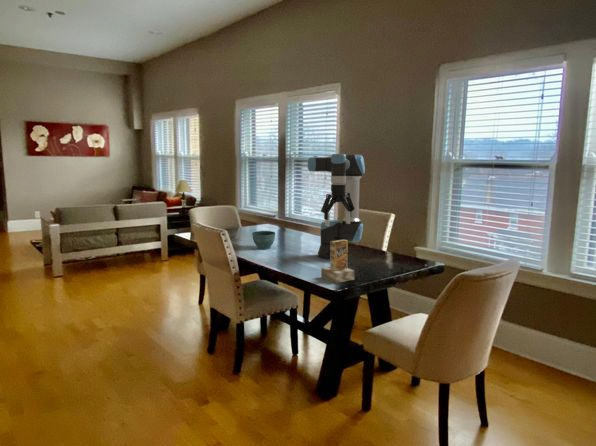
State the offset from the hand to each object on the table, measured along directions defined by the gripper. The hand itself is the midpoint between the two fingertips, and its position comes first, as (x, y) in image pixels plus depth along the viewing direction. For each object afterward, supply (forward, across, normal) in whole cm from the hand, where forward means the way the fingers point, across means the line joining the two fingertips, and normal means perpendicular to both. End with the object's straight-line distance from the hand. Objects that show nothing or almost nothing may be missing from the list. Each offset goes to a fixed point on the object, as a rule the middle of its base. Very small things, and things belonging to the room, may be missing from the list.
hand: (337, 224), depth 228 cm
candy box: (+24, 0, +2) cm, 24 cm away
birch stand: (+28, +1, +2) cm, 29 cm away
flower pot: (+29, -2, -86) cm, 91 cm away
